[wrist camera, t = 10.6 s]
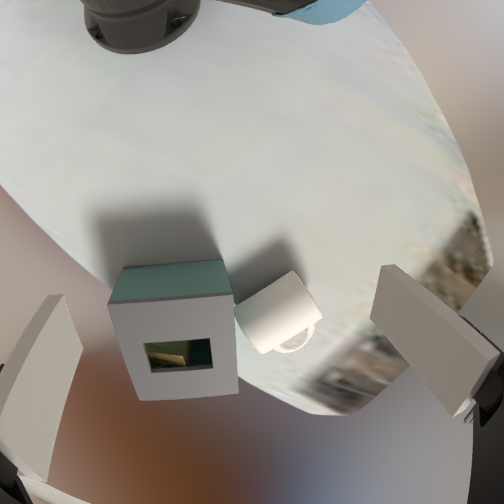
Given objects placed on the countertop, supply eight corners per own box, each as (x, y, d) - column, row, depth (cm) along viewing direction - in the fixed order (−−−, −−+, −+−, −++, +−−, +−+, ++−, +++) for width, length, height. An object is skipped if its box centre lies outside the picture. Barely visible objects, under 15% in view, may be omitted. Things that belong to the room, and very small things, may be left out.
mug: (229, 298, 43) (237, 329, 36) (286, 261, 43) (306, 286, 35) (268, 346, 48) (281, 378, 41) (318, 314, 48) (338, 343, 40)
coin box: (123, 267, 38) (107, 304, 29) (222, 259, 40) (233, 294, 31) (144, 355, 44) (139, 400, 35) (228, 348, 46) (238, 393, 37)
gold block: (159, 326, 41) (145, 363, 36) (155, 312, 40) (139, 350, 34) (198, 330, 41) (187, 369, 35) (194, 316, 39) (182, 356, 33)
